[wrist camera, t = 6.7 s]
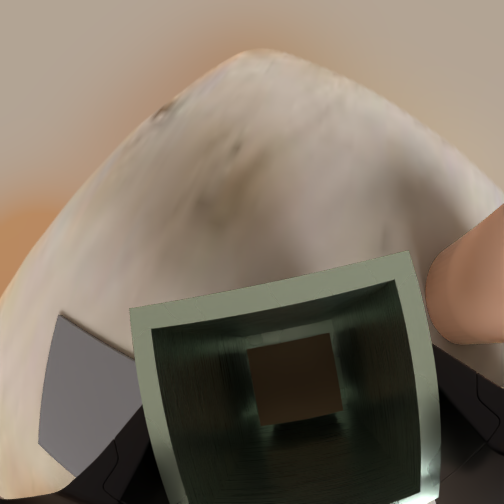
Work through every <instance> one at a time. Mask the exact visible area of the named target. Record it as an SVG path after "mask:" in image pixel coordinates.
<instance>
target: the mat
mask: <svg viewBox="0 0 504 504" xmlns="http://www.w3.org/2000/svg"><path fill="white" fill-rule="evenodd" d="M141 405H142V399H141V394H140V388H139V383H138V377H137V370H136V364H135V360H134V359H132V358H131V357H129V356H127V355H125V354H123V353H121V352H120V351H118V350H116V349H114V348H113V347H111V346H109V345H107V344H106V343H104V342H102V341H101V340H99V339H97V338H96V337H94V336H92V335H91V334H89V333H88V332H86V331H84V330H83V329H81V328H80V327H78V326H77V325H75V324H74V323H72V322H71V321H69V320H68V319H66V318H65V317H63V316H62V315H58V318H57V322H56V326H55V330H54V334H53V338H52V342H51V347H50V352H49V357H48V362H47V367H46V373H45V379H44V386H43V393H42V401H41V411H40V422H39V440H38V444H39V445H40V446H41V447H42V448H43V449H44V450H45V451H46V452H47V453H49V454H50V455H51V456H52V457H53V458H54V459H55V460H56V461H57V462H58V463H60V464H61V465H62V466H63V467H64V468H65V469H66V470H68V471H69V472H70V473H71V474H73V475H74V476H75V477H77V476H78V475H79V474H81V473H82V472H83V471H84V470H85V469H86V468H87V467H88V466H89V465H90V464H91V463H92V462H93V461H94V460H95V459H96V458H97V457H98V456H99V455H100V454H101V453H102V451H103V450H104V449H105V448H106V447H107V446H108V445H109V443H110V442H111V441H112V440H113V439H114V438H115V436H116V435H117V434H118V433H119V432H120V430H121V429H122V428H123V427H124V426H125V424H126V423H127V422H128V421H129V420H130V418H131V417H132V416H133V415H134V414H135V412H136V411H137V410H138V409H139V407H140V406H141Z"/></svg>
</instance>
